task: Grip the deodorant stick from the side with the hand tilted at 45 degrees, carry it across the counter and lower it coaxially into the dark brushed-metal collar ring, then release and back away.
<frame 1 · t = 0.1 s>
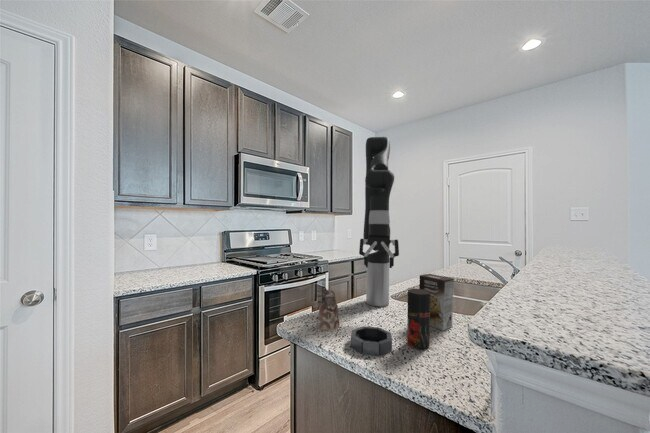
hand: (378, 267, 103), 17 cm above the worktop, tool pointing down, fingers open, 8 cm apart
deodorant: (418, 345, 79), on the worktop
collar ring: (371, 345, 78), on the worktop
figurine: (328, 326, 91), on the worktop
coffee box: (435, 325, 94), on the worktop
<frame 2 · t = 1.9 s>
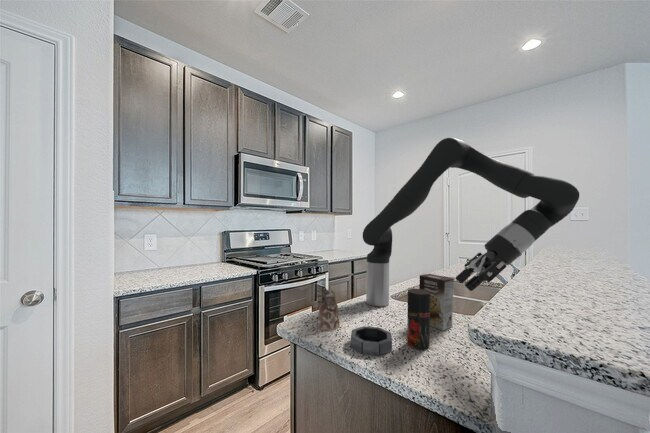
hand: (462, 284, 77), 18 cm above the worktop, tool tilted 45°, fingers open, 8 cm apart
nothing on the worktop moved.
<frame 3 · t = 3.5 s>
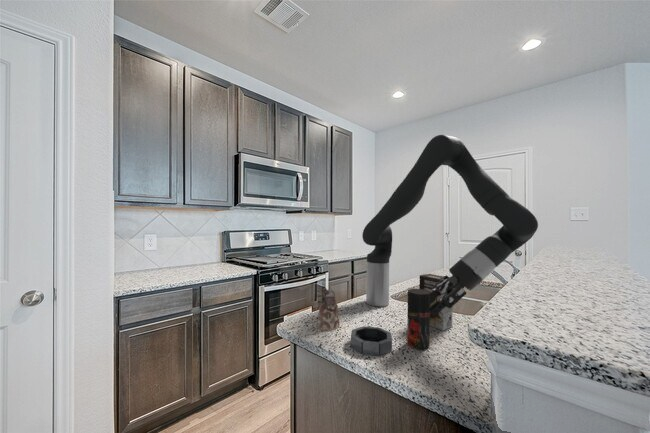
hand: (427, 308, 78), 10 cm above the worktop, tool tilted 45°, fingers open, 8 cm apart
nothing on the worktop moved.
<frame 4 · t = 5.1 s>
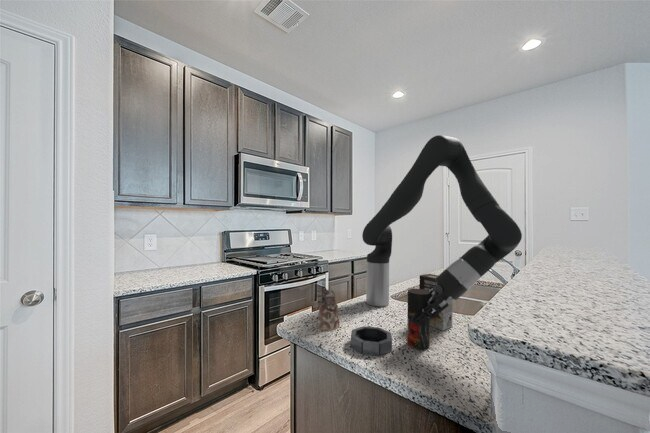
hand: (412, 318, 79), 7 cm above the worktop, tool tilted 45°, fingers closed on deodorant, 6 cm apart
deodorant: (418, 345, 79), on the worktop, touching gripper
everything else where it was.
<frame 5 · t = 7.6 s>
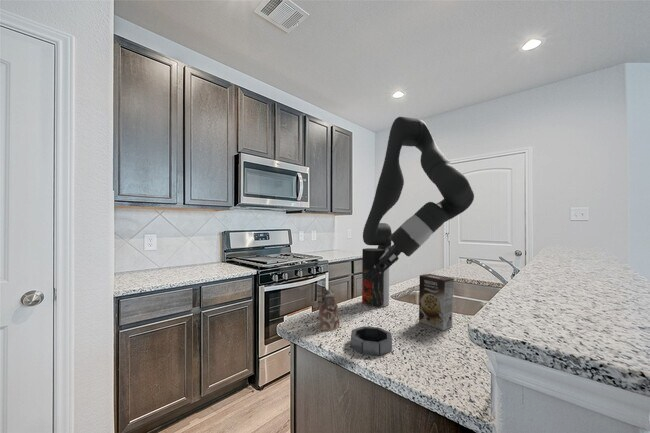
hand: (366, 276, 78), 19 cm above the worktop, tool tilted 45°, fingers closed on deodorant, 6 cm apart
deodorant: (372, 304, 78), point 12 cm above the worktop, touching gripper
everything else where it was.
when the fingers open (8 cm above the worktop, at t = 10.2 s): deodorant stays where it is, resting on collar ring.
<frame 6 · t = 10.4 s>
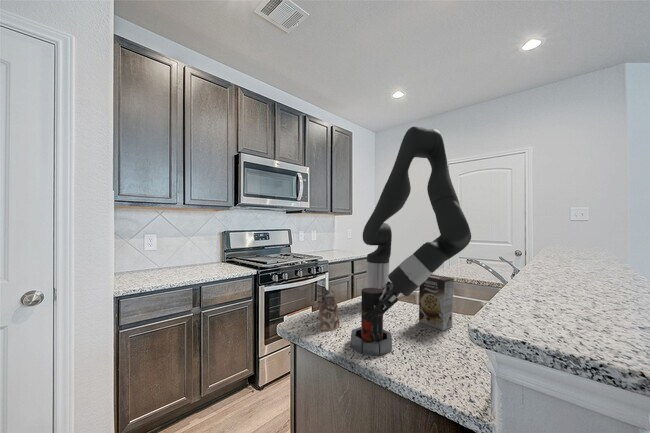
hand: (366, 314, 78), 9 cm above the worktop, tool tilted 45°, fingers open, 8 cm apart
deodorant: (371, 344, 78), resting on collar ring
everything else where it was.
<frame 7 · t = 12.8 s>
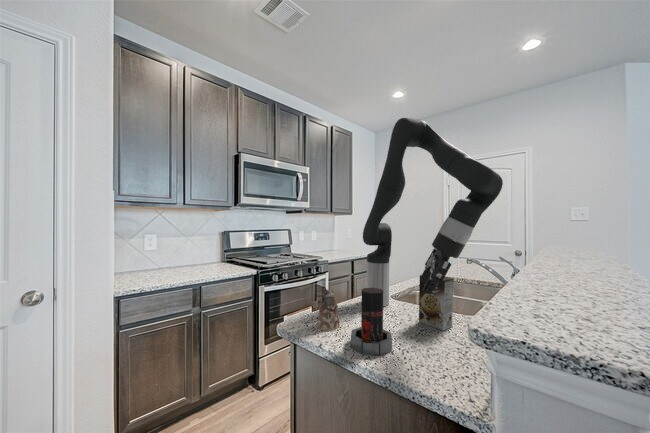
hand: (424, 286, 80), 16 cm above the worktop, tool tilted 25°, fingers open, 8 cm apart
nothing on the worktop moved.
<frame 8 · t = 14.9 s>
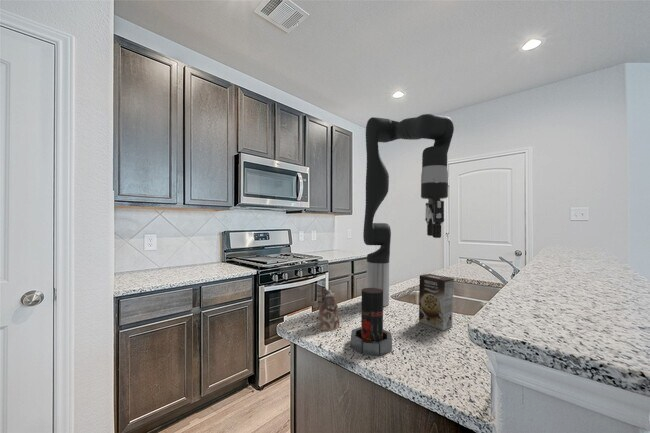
hand: (433, 236, 84), 30 cm above the worktop, tool pointing down, fingers open, 8 cm apart
nothing on the worktop moved.
at the end: deodorant 0.2 cm from the collar ring (horizontally); deodorant tilted 0°; the gripper is holding nothing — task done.
